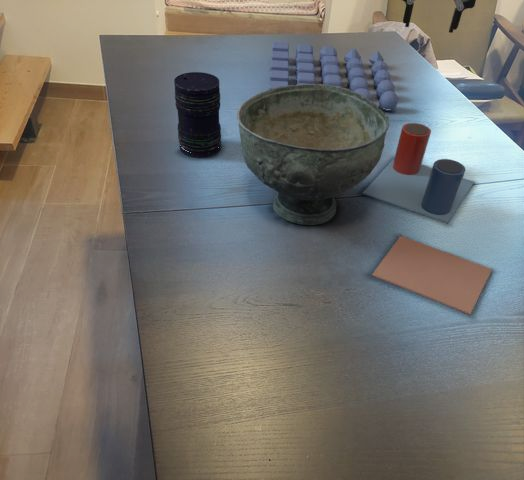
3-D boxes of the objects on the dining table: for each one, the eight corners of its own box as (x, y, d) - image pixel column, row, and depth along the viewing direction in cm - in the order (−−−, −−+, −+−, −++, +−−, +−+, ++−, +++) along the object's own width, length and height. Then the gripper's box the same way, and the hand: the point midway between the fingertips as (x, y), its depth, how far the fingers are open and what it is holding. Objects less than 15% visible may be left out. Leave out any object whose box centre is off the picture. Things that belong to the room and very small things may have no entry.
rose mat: (491, 270, 94) (492, 269, 94) (469, 315, 86) (470, 313, 86) (400, 237, 100) (400, 235, 99) (371, 275, 92) (372, 274, 91)
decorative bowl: (392, 200, 107) (412, 103, 92) (333, 264, 93) (346, 162, 78) (286, 165, 117) (289, 72, 102) (218, 218, 103) (210, 119, 88)
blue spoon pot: (454, 204, 108) (469, 164, 101) (445, 218, 104) (460, 177, 97) (426, 195, 110) (439, 155, 103) (416, 208, 106) (429, 168, 99)
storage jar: (228, 144, 122) (228, 77, 110) (208, 162, 116) (206, 94, 104) (192, 134, 124) (188, 68, 113) (171, 151, 118) (164, 83, 107)
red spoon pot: (423, 166, 118) (435, 127, 111) (414, 178, 114) (425, 138, 107) (398, 158, 120) (408, 119, 113) (388, 169, 116) (398, 130, 109)
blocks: (271, 58, 159) (272, 41, 156) (381, 65, 160) (385, 48, 156) (268, 107, 136) (269, 87, 132) (396, 115, 136) (401, 95, 133)
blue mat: (473, 183, 115) (474, 181, 114) (447, 223, 103) (448, 222, 103) (395, 158, 121) (395, 156, 120) (362, 194, 110) (362, 192, 109)
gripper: (496, -77, 90) (465, 27, 102) (415, -85, 92) (394, 18, 104) (498, -69, 85) (465, 39, 97) (413, -78, 87) (390, 30, 99)
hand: (428, 28), depth 101 cm, fingers open, 8 cm apart
